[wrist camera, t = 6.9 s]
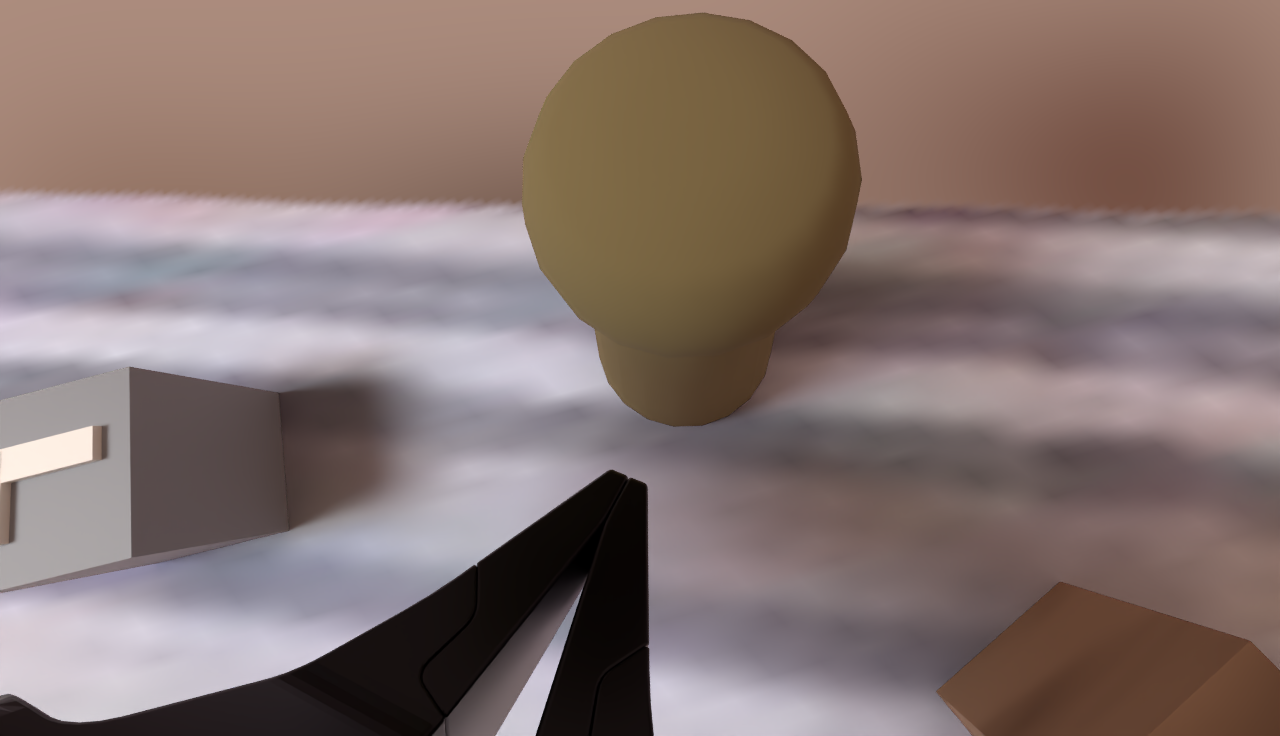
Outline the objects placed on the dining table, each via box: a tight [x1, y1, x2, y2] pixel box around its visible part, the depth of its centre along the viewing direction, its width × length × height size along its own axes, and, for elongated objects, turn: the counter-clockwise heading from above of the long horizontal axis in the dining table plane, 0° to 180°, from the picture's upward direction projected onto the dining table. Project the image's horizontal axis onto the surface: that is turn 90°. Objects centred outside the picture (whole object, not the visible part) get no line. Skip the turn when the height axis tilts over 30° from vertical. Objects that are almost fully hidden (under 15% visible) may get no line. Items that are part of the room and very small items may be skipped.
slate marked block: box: [0, 367, 289, 593], centre depth 15 cm, size 5×5×5 cm
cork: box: [522, 13, 862, 427], centre depth 11 cm, size 6×6×11 cm
